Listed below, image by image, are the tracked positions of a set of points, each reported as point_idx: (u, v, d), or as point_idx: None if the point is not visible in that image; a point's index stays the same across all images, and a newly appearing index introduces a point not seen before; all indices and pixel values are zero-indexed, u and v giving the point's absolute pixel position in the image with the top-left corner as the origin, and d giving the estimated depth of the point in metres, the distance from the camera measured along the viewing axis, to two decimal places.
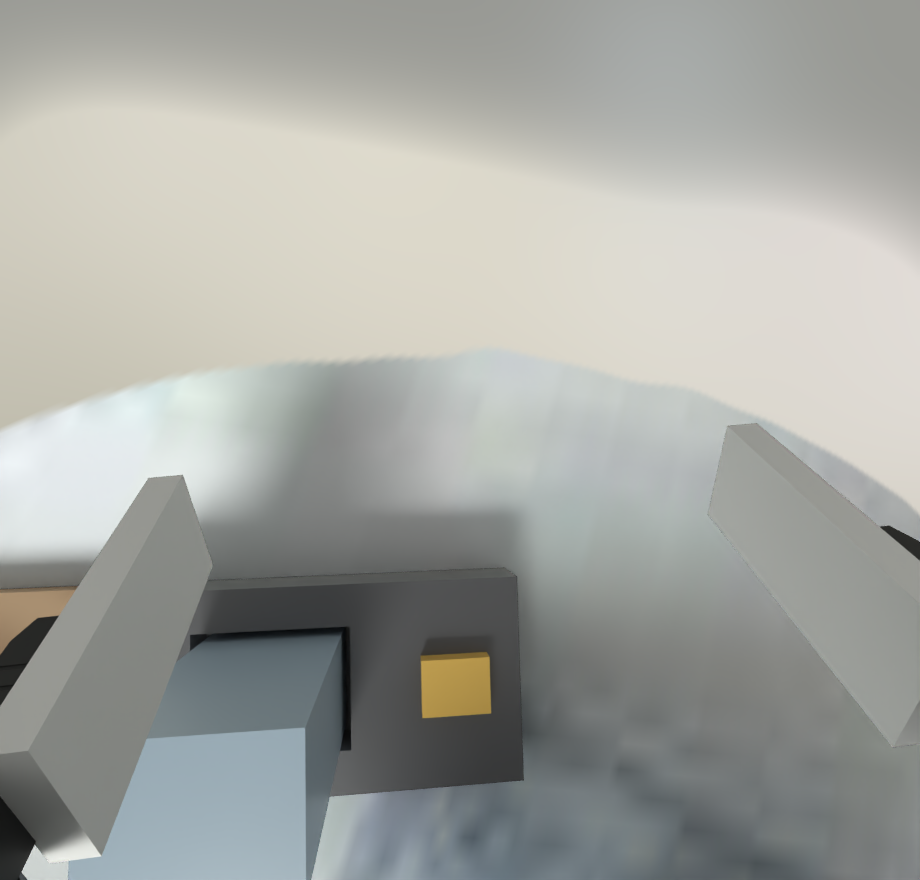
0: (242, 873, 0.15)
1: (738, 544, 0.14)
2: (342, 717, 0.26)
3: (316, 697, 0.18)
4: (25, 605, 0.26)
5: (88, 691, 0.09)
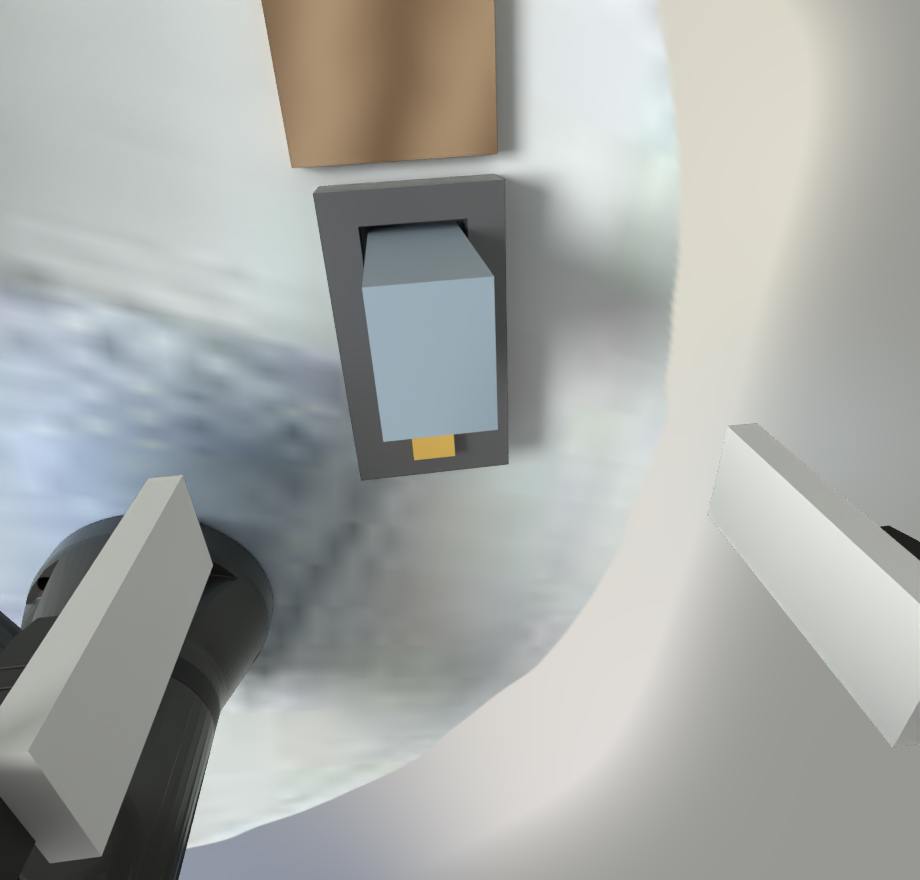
0: (401, 401, 0.22)
1: (738, 544, 0.14)
2: None
3: None
4: (481, 27, 0.26)
5: (88, 691, 0.09)
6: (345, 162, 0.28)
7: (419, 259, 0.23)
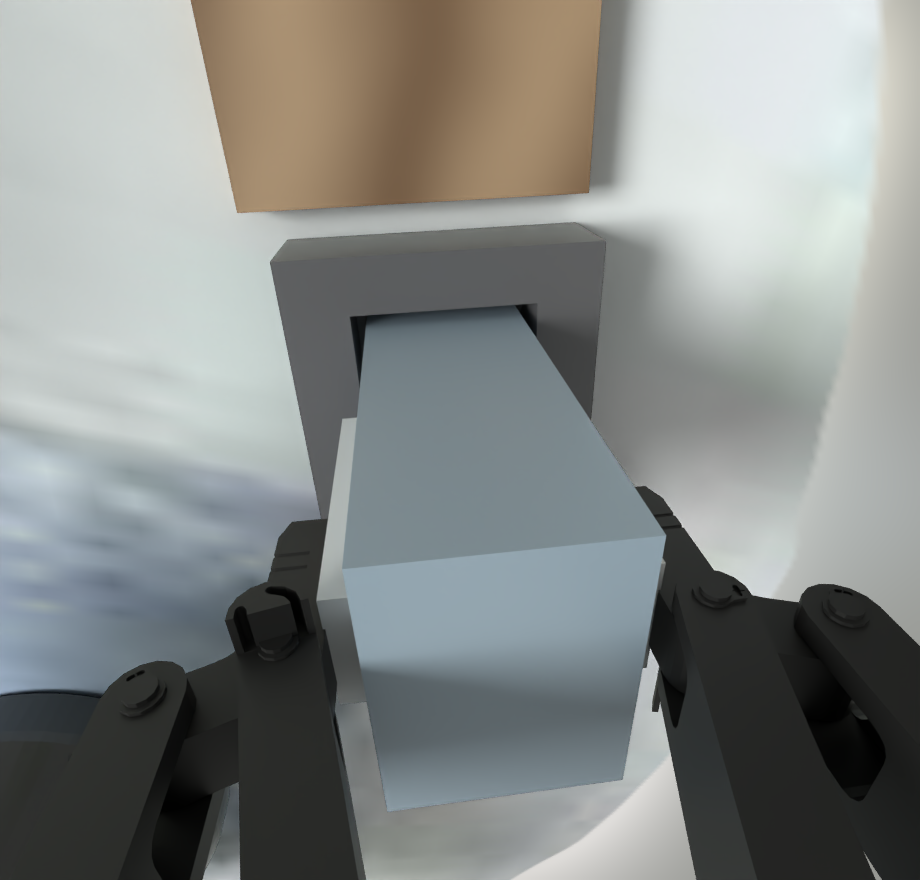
0: (427, 752, 0.10)
1: None
2: None
3: None
4: None
5: None
6: (330, 204, 0.16)
7: (468, 430, 0.11)
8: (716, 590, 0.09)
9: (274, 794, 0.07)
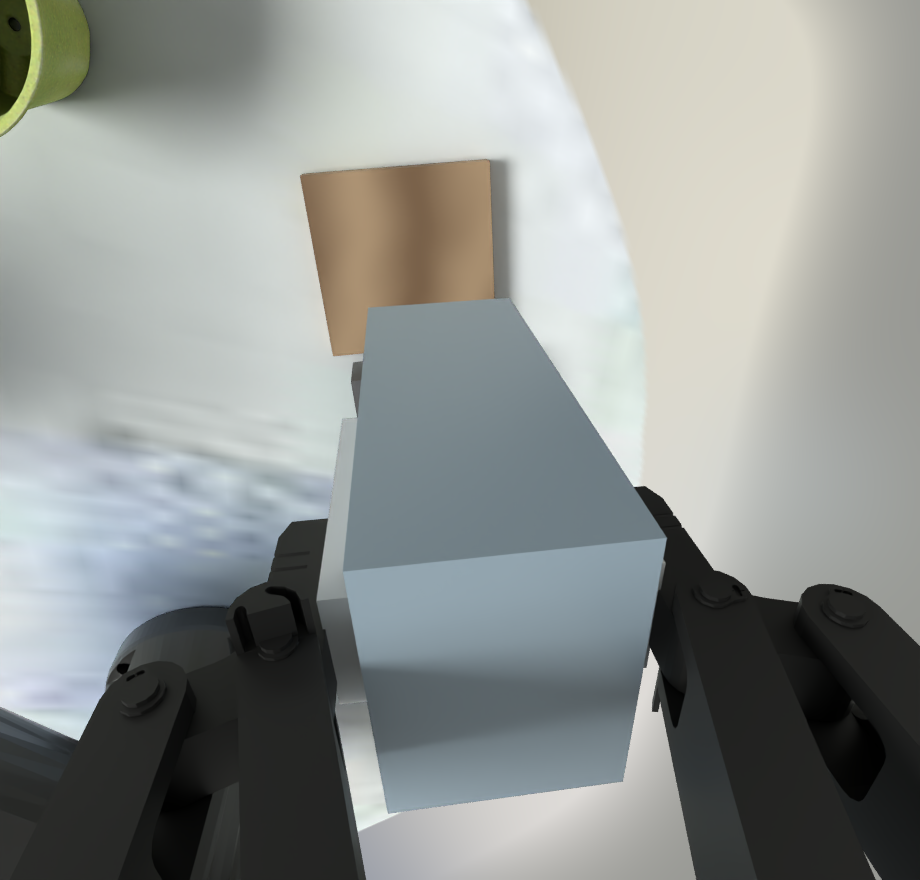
0: (428, 754, 0.10)
1: None
2: None
3: None
4: (482, 255, 0.33)
5: None
6: None
7: (469, 431, 0.11)
8: (716, 590, 0.09)
9: (274, 795, 0.07)
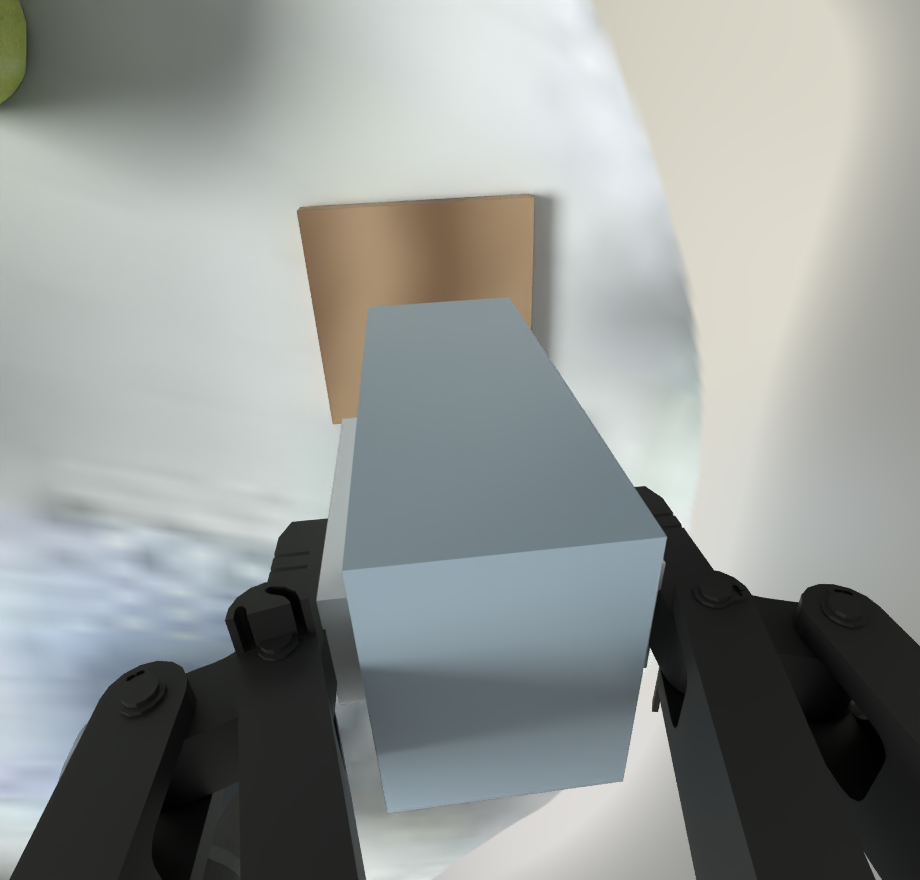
0: (427, 754, 0.10)
1: None
2: None
3: None
4: (519, 310, 0.27)
5: None
6: None
7: (468, 431, 0.11)
8: (716, 590, 0.09)
9: (274, 794, 0.07)
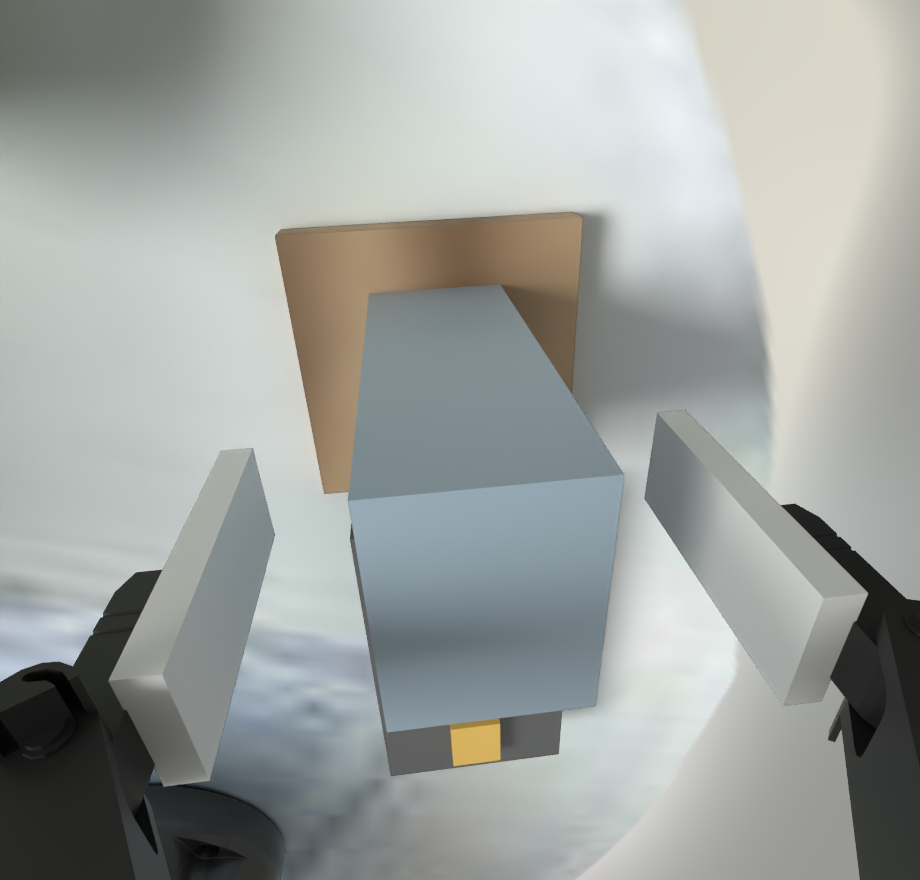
0: (422, 675, 0.11)
1: (667, 525, 0.15)
2: None
3: None
4: (558, 357, 0.21)
5: (197, 631, 0.10)
6: None
7: (458, 395, 0.12)
8: None
9: None
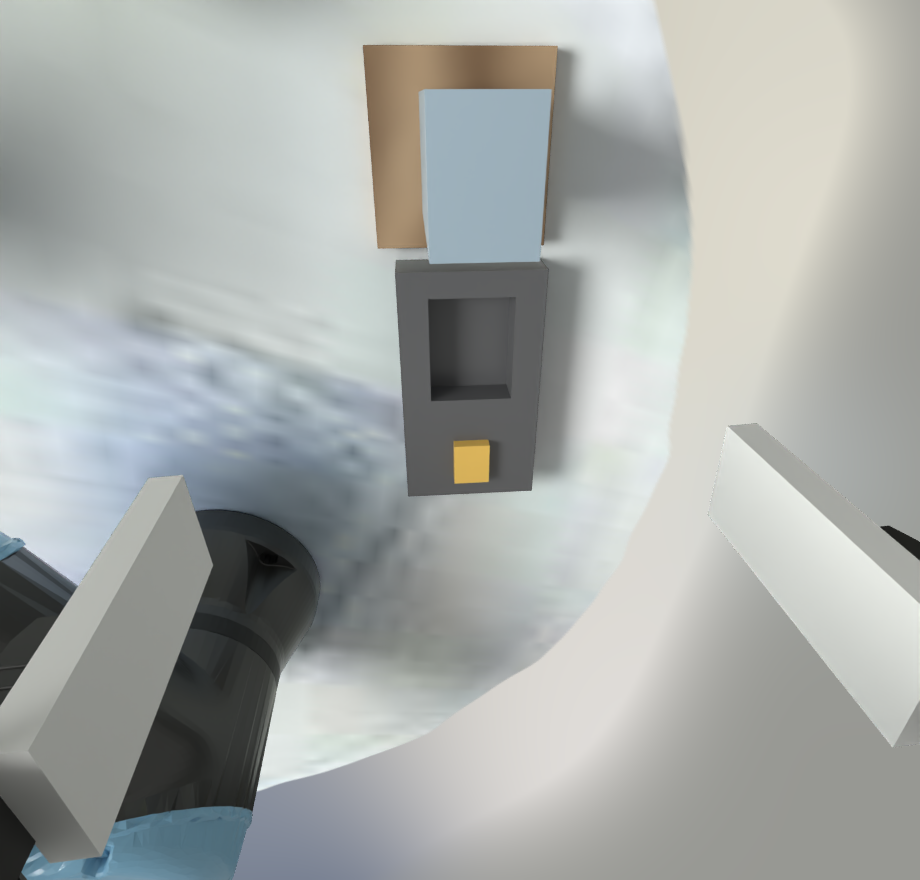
0: (450, 220, 0.22)
1: (738, 544, 0.14)
2: None
3: None
4: None
5: (88, 691, 0.09)
6: (420, 246, 0.34)
7: None
8: None
9: None
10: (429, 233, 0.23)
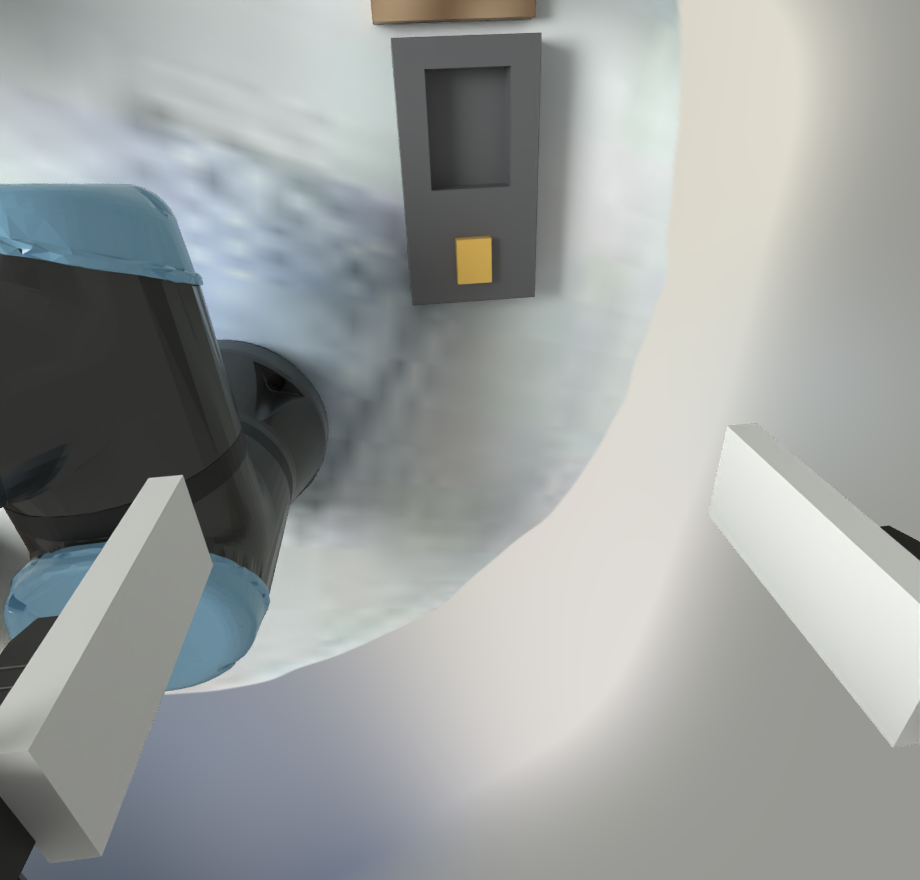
0: None
1: (738, 544, 0.14)
2: None
3: None
4: None
5: (88, 691, 0.09)
6: (415, 18, 0.35)
7: None
8: None
9: None
10: None
